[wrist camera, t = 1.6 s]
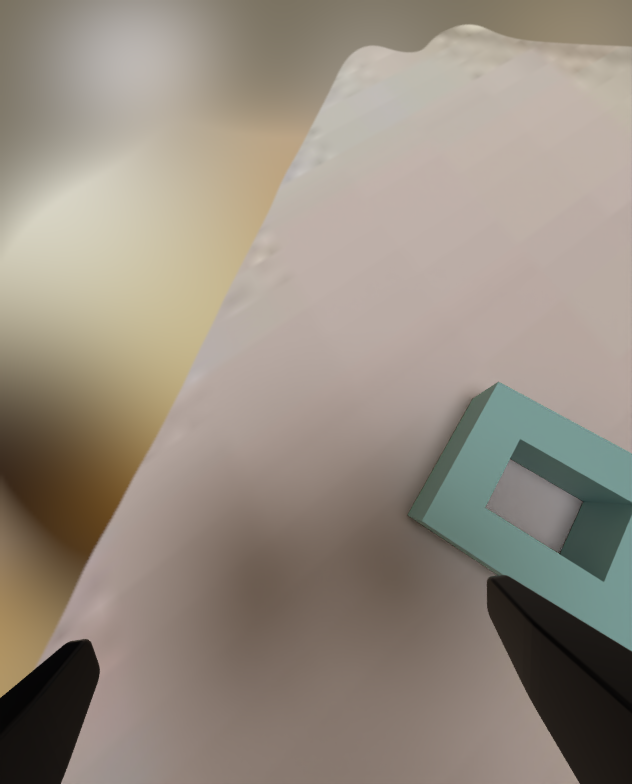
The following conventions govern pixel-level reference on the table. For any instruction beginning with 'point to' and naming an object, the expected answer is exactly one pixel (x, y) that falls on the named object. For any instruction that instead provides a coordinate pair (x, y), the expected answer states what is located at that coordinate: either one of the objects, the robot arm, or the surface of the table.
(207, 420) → the table surface
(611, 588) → the rectangular frame
